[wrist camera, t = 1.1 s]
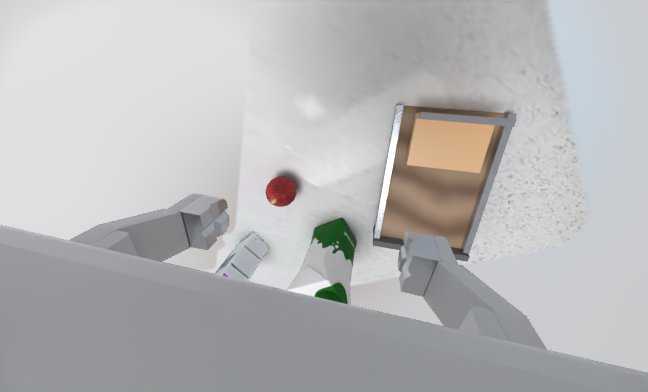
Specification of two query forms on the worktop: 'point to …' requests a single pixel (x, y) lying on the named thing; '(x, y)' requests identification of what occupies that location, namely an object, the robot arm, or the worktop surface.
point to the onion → (281, 191)
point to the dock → (434, 189)
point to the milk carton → (327, 264)
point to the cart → (451, 140)
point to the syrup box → (244, 258)
